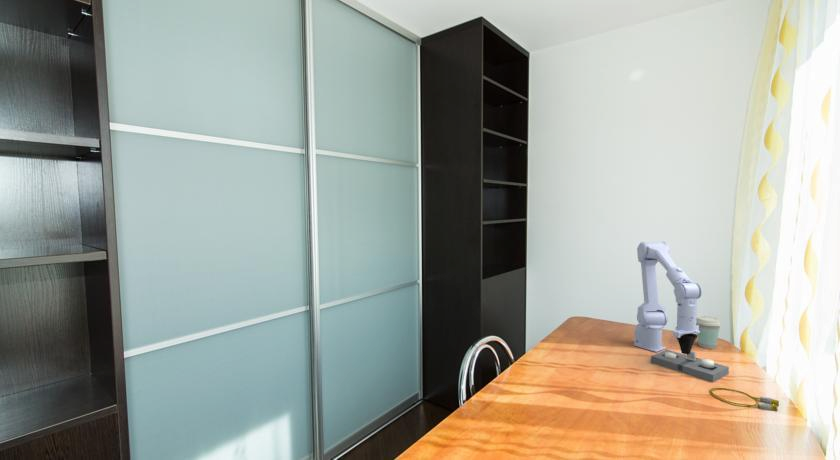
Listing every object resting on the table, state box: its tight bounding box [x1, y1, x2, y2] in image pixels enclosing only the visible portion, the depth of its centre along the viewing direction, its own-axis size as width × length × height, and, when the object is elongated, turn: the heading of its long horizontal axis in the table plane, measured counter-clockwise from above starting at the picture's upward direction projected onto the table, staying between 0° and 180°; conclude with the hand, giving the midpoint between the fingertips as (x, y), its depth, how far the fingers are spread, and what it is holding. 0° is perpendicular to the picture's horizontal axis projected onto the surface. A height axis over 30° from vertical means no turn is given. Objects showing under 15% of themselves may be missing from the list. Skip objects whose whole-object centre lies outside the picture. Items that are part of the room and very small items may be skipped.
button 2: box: [700, 357, 715, 368], centre depth 134 cm, size 4×4×2 cm
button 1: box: [665, 352, 676, 359], centre depth 144 cm, size 4×4×2 cm
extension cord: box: [709, 387, 780, 412], centre depth 116 cm, size 12×16×2 cm
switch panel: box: [650, 349, 730, 383], centre depth 139 cm, size 20×12×2 cm, turn 32°
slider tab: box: [685, 350, 697, 361], centre depth 140 cm, size 3×2×3 cm
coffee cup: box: [696, 315, 721, 350], centre depth 160 cm, size 8×8×12 cm
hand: (685, 353), depth 138 cm, fingers closed
